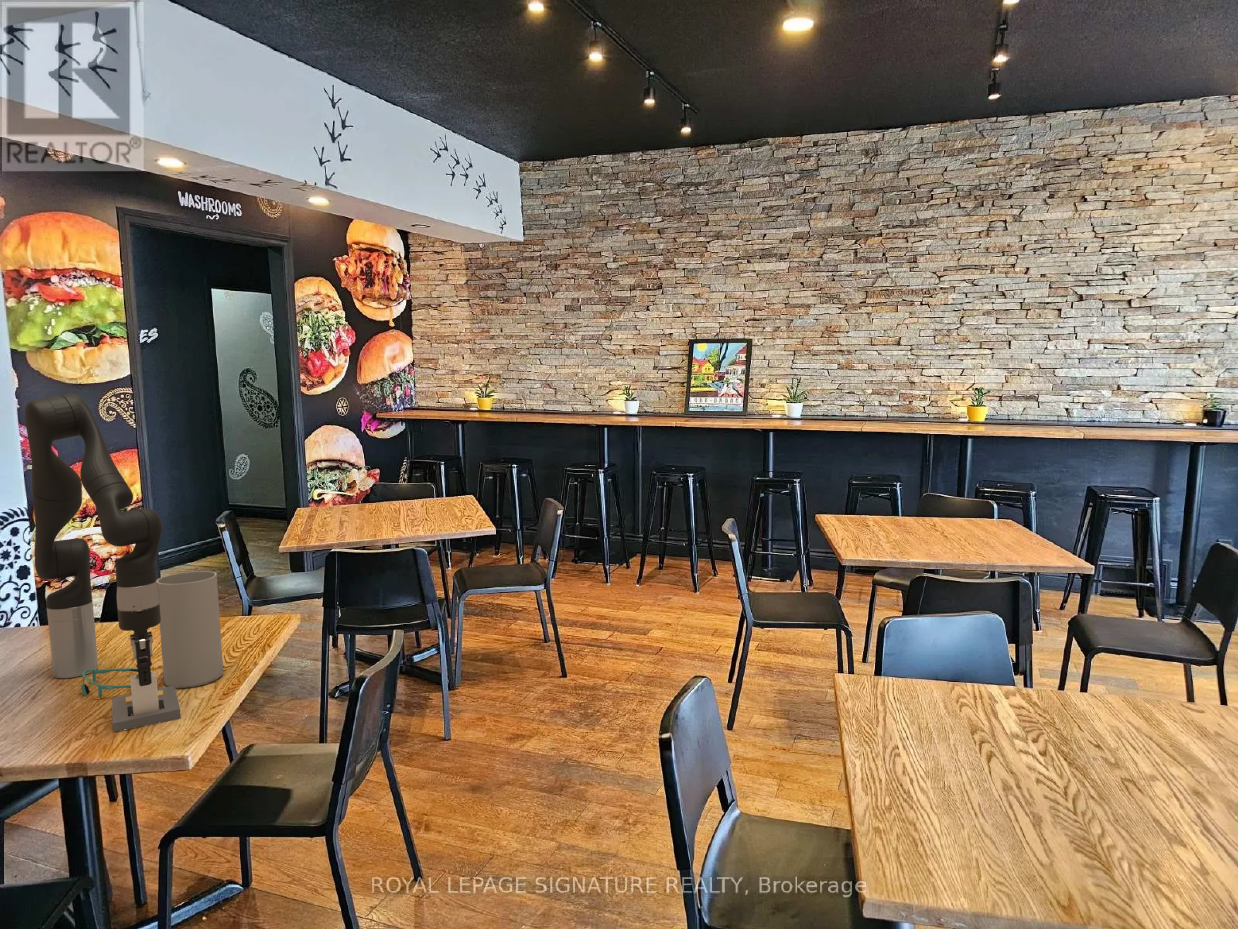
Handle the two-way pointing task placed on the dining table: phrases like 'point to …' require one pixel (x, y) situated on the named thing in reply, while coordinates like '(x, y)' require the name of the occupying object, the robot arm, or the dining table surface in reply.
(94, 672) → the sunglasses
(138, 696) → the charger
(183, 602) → the cylinder vase
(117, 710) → the plate
